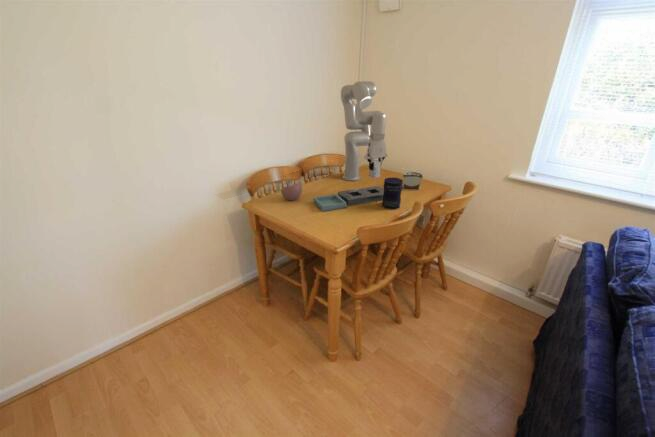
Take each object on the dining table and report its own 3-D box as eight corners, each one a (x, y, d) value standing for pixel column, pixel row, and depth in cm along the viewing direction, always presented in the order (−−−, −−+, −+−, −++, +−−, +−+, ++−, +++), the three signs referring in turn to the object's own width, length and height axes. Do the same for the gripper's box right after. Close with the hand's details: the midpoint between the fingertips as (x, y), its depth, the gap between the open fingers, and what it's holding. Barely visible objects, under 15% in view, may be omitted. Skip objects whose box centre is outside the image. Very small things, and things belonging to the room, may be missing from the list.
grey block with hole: (337, 197, 180) (337, 191, 178) (378, 191, 189) (378, 185, 188) (348, 205, 168) (348, 200, 166) (390, 198, 178) (391, 193, 176)
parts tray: (313, 202, 172) (313, 197, 171) (335, 198, 177) (336, 194, 176) (322, 211, 161) (322, 206, 159) (346, 207, 166) (346, 202, 164)
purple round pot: (293, 194, 184) (292, 176, 179) (306, 199, 176) (306, 180, 171) (277, 199, 176) (276, 180, 171) (290, 205, 169) (289, 185, 164)
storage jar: (396, 211, 162) (399, 184, 156) (379, 207, 167) (381, 181, 160) (402, 204, 170) (405, 179, 163) (386, 201, 174) (388, 176, 168)
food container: (419, 186, 197) (421, 171, 193) (420, 190, 191) (423, 174, 187) (400, 186, 198) (401, 171, 194) (401, 189, 192) (402, 174, 188)
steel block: (369, 175, 177) (370, 160, 173) (375, 174, 178) (376, 159, 174) (373, 178, 173) (374, 162, 169) (379, 177, 174) (381, 161, 171)
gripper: (367, 139, 160) (365, 172, 168) (394, 136, 165) (391, 169, 173) (360, 136, 166) (358, 168, 174) (386, 134, 172) (384, 165, 180)
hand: (374, 168), depth 174 cm, fingers closed on steel block, 4 cm apart
